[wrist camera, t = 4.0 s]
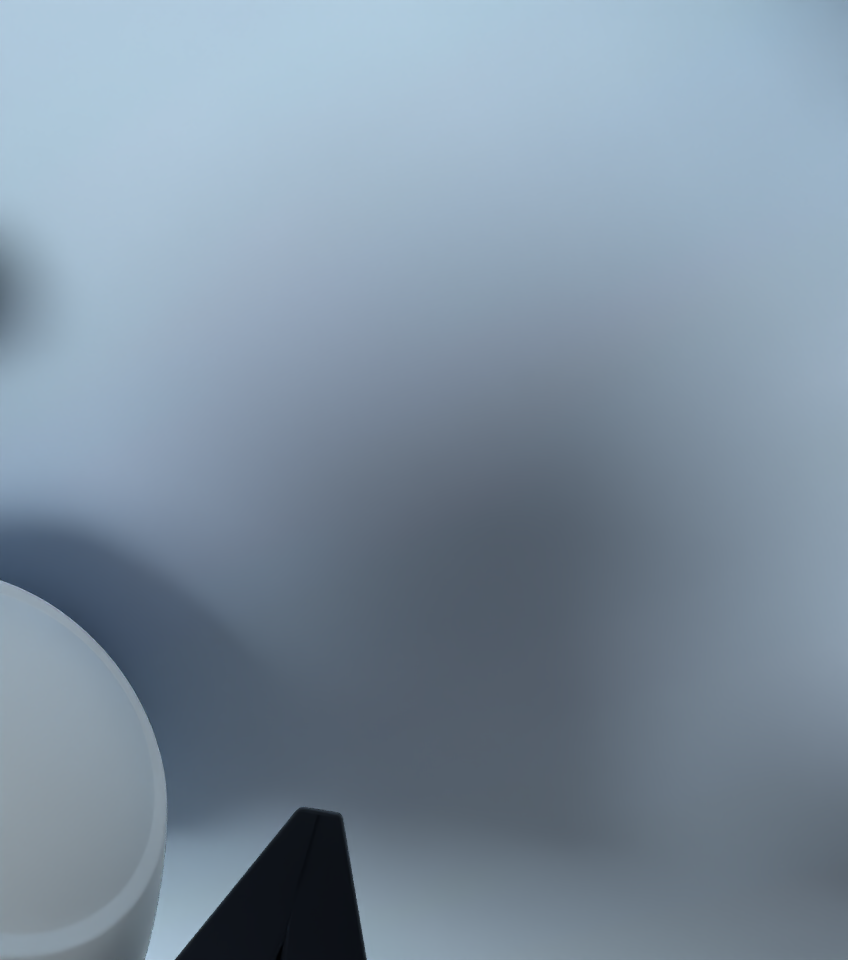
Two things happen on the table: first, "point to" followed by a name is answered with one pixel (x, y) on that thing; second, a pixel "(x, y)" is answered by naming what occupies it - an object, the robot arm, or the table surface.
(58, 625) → the white folded round lump
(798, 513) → the table surface
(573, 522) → the table surface
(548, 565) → the table surface
